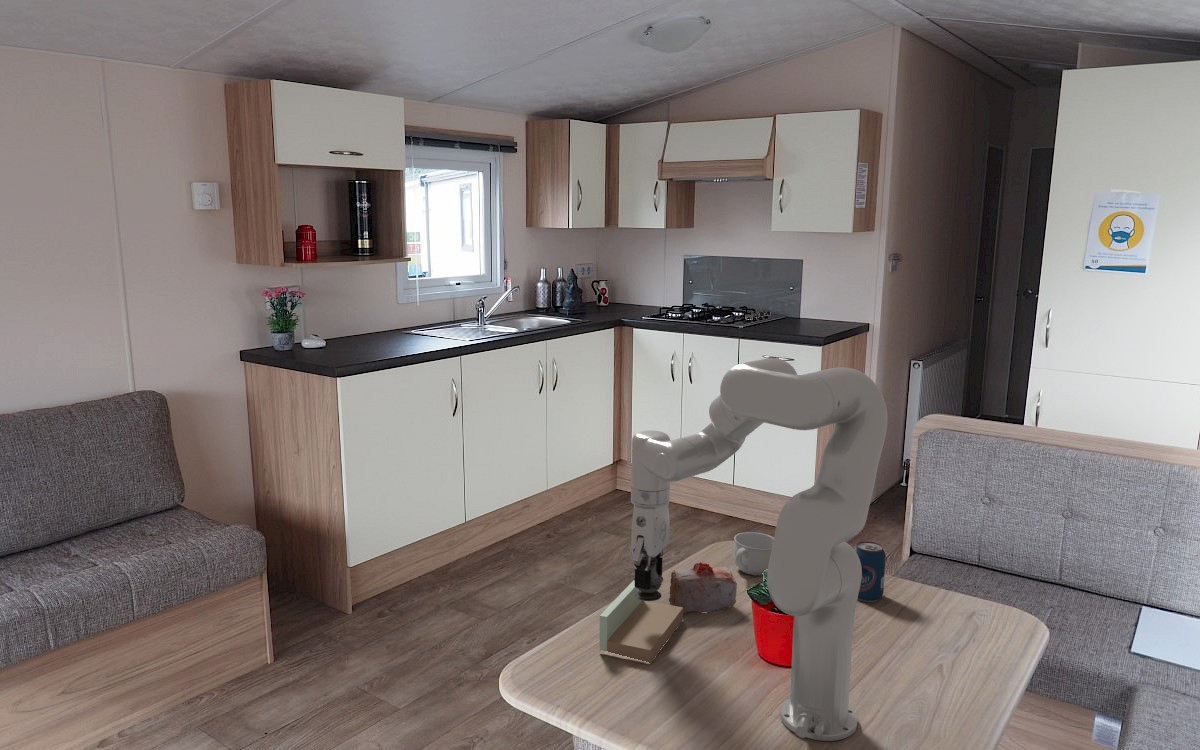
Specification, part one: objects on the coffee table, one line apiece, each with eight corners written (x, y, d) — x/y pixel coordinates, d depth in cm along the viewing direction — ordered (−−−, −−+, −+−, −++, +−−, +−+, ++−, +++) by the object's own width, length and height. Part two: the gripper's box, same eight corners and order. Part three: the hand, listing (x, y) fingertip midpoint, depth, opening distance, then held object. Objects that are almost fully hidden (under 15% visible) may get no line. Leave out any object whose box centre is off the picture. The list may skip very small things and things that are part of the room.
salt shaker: (638, 603, 167) (639, 544, 165) (629, 590, 173) (630, 534, 171) (667, 600, 169) (668, 542, 167) (657, 587, 174) (658, 531, 172)
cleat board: (650, 664, 163) (651, 625, 161) (599, 653, 167) (599, 615, 166) (682, 620, 181) (683, 585, 180) (636, 611, 185) (636, 576, 184)
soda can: (846, 597, 192) (848, 546, 190) (857, 587, 198) (860, 538, 196) (876, 606, 188) (879, 554, 186) (887, 595, 194) (890, 544, 192)
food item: (724, 596, 193) (726, 555, 191) (738, 612, 185) (740, 569, 184) (666, 602, 190) (667, 560, 188) (678, 618, 182) (679, 574, 180)
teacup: (752, 558, 215) (753, 528, 213) (787, 572, 206) (789, 540, 205) (714, 572, 206) (715, 541, 204) (749, 587, 198) (751, 554, 196)
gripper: (653, 510, 158) (651, 602, 161) (682, 484, 173) (680, 569, 177) (615, 505, 161) (614, 595, 164) (647, 480, 176) (645, 563, 180)
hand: (648, 580), depth 170 cm, fingers closed on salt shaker, 5 cm apart
